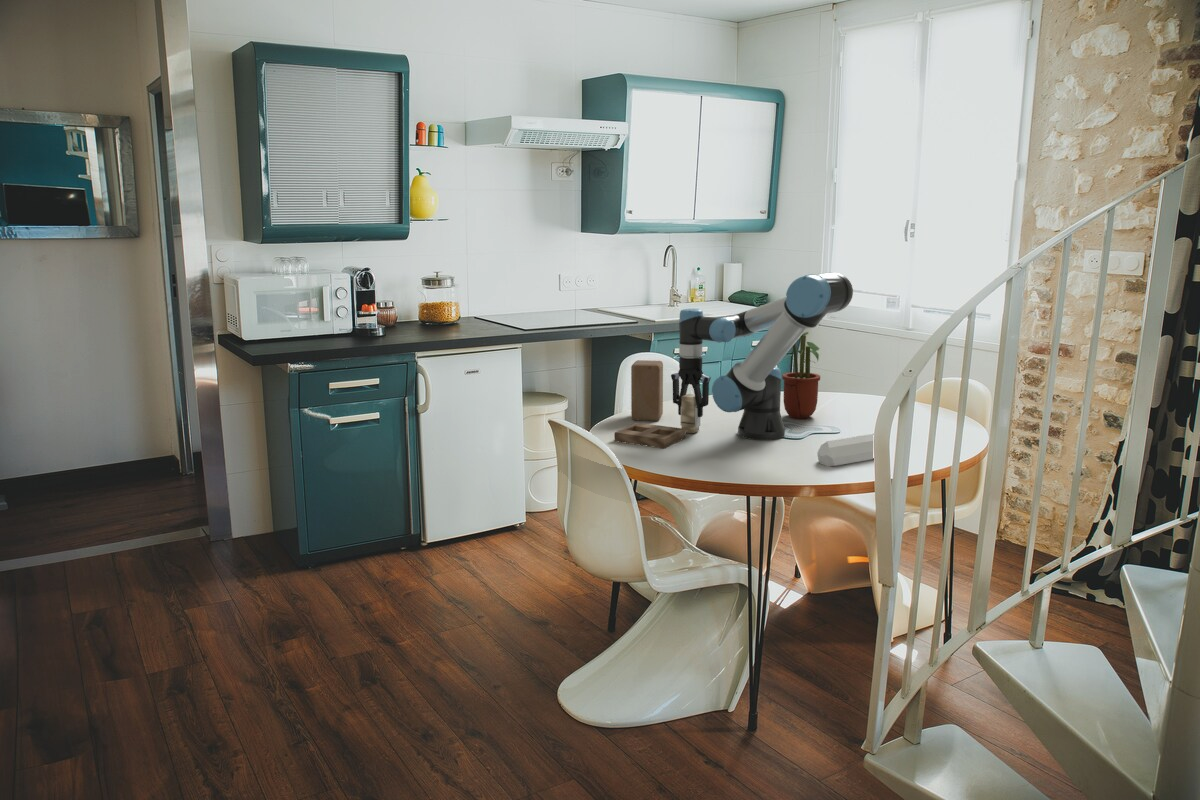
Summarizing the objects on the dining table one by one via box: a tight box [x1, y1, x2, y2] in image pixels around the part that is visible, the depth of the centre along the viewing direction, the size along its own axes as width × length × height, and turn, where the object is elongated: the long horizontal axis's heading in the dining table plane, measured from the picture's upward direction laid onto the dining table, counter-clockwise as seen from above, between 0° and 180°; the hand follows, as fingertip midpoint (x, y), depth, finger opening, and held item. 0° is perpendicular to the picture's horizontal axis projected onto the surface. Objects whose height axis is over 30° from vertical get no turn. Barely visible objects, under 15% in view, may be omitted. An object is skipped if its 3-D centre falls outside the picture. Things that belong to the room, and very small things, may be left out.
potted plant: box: [781, 331, 821, 420], centre depth 328 cm, size 17×16×35 cm
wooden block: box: [630, 359, 664, 422], centre depth 328 cm, size 10×10×20 cm
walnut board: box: [613, 422, 687, 449], centre depth 301 cm, size 18×15×3 cm
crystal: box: [817, 433, 875, 467], centre depth 276 cm, size 7×7×24 cm
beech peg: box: [680, 393, 700, 434], centre depth 309 cm, size 4×4×12 cm
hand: (690, 425), depth 309 cm, fingers closed on beech peg, 4 cm apart
